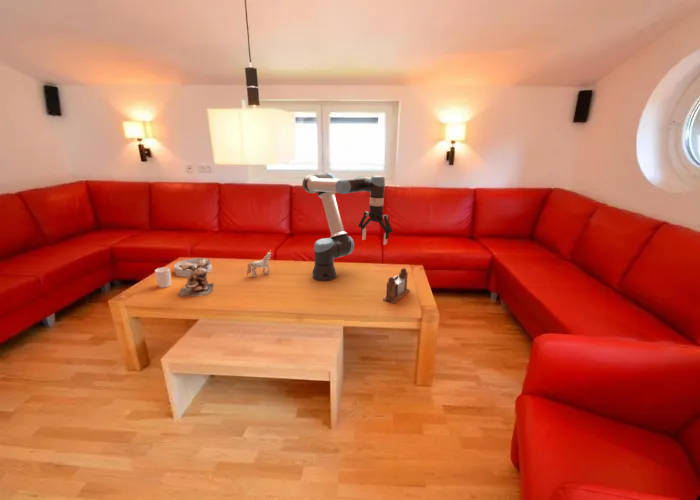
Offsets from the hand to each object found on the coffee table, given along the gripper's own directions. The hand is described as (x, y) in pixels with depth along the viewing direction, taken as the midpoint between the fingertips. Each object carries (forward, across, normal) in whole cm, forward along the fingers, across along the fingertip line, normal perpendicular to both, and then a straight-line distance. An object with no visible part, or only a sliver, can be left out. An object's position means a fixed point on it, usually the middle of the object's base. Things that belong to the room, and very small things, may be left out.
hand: (374, 241), depth 202 cm
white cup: (+30, -102, -65) cm, 125 cm away
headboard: (+26, +18, -5) cm, 32 cm away
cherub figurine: (+30, -81, -60) cm, 105 cm away
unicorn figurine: (+30, -69, -22) cm, 78 cm away
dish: (+31, -109, -41) cm, 121 cm away
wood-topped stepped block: (+25, +18, -5) cm, 32 cm away
